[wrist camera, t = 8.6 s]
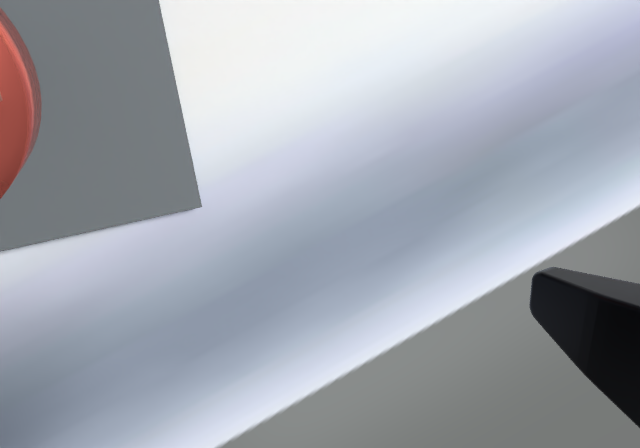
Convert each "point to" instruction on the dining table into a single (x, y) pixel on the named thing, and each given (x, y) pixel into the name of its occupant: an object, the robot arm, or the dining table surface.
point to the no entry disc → (16, 103)
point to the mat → (98, 122)
